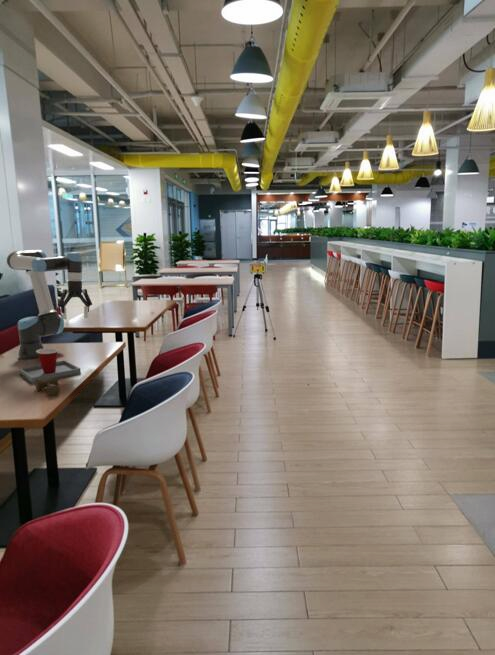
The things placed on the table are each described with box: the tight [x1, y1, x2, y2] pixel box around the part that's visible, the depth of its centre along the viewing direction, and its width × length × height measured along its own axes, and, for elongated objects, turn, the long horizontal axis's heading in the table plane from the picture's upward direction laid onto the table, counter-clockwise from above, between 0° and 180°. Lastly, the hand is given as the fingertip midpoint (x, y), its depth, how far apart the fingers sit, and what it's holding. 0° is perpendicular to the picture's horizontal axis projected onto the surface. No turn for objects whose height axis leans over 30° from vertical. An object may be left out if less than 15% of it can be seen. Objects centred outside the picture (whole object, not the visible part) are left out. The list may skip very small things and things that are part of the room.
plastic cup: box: [36, 347, 59, 374], centre depth 260 cm, size 11×11×12 cm
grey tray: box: [19, 359, 82, 385], centre depth 260 cm, size 24×24×3 cm
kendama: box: [34, 376, 60, 397], centre depth 232 cm, size 6×10×20 cm
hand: (75, 318), depth 282 cm, fingers open, 13 cm apart
